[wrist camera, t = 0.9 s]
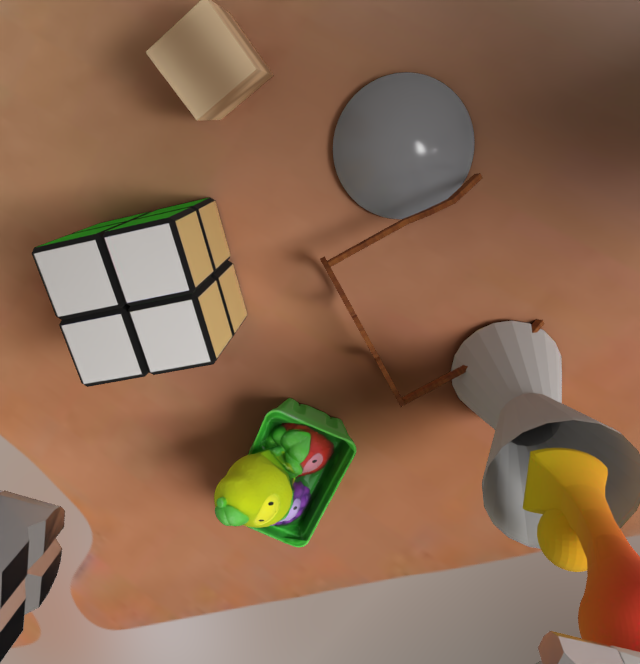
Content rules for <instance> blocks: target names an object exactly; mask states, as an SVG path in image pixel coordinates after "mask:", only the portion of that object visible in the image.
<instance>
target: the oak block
mask: <svg viewBox="0 0 640 664" xmlns="http://www.w3.org/2000/svg"><path fill="white" fill-rule="evenodd" d="M146 54H147V55H148V56H149V58H150V59H151V60H152V62H153V63H154V64H155V66H156V67H157V68H158V70H159V71H160V72H161V74H162V75H163V76H164V78H165V79H166V80H167V82H168V83H169V84H170V86H171V87H172V88H173V90H174V91H175V92H176V94H177V95H178V96H179V98H180V99H181V100H182V102H183V103H184V104H185V106H186V107H187V108H188V110H189V111H190V112H191V114H192V115H193V116H194V117H195V119H196V120H222V119H223V118H224V117H225V116H226V115H228V114H229V113H230V112H231V111H232V110H233V109H235V108H236V107H237V106H238V105H239V104H241V103H242V102H243V101H244V100H245V99H246V98H248V97H249V96H250V95H251V94H252V93H254V92H255V91H256V90H257V89H258V88H259V87H261V86H262V85H263V84H264V83H265V82H267V81H268V80H269V79H270V78H271V77H272V76H274V75H273V74H272V72H271V71H270V69H269V68H268V66H267V65H266V64H265V62H264V61H263V59H262V58H261V57H260V55H259V54H258V52H257V51H256V49H255V48H254V47H253V45H252V44H251V42H250V41H249V40H248V38H247V37H246V35H245V34H244V32H243V31H242V30H241V28H240V27H239V25H238V24H237V23H236V21H235V20H234V18H233V17H232V16H231V14H230V13H229V12H228V11H226V10H225V9H223V8H222V7H220V6H219V5H217V4H216V3H214V2H213V1H211V0H201V1H200V2H198V3H197V4H196V5H195V6H194V7H193V8H192V9H191V10H190V11H189V12H188V13H187V14H186V15H185V16H183V17H182V18H181V19H180V20H179V21H178V22H177V23H176V24H175V25H174V26H173V27H172V28H171V29H170V30H169V31H167V32H166V33H165V34H164V35H163V36H162V37H161V38H160V39H159V40H158V41H157V42H156V43H155V44H154V45H152V46H151V47H150V48H149V49H148V50H147V51H146Z"/></svg>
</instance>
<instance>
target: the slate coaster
mask: <svg viewBox="0 0 640 664" xmlns="http://www.w3.org/2000/svg"><path fill="white" fill-rule="evenodd" d="M474 141H475V140H474V130H473V126H472V122H471V119H470V116H469V114H468V111H467V109H466V108H465V106H464V104H463V103H462V101H461V100H460V98H459V97H458V96H457V95H456V94H455V93H454V92H453V91H452V90H451V89H450V88H449V87H448V86H446V85H445V84H444V83H442V82H440V81H438V80H436V79H435V78H432V77H429V76H427V75H423V74H418V73H408V72H406V73H395V74H390V75H387V76H384V77H381V78H378V79H376V80H374V81H372V82H371V83H369V84H368V85H366V86H365V87H363V88H362V89H361V90H360V91H359V92H357V93H356V94H355V95H354V96H353V98H352V99H351V100H350V101H349V102H348V104H347V105H346V107H345V108H344V110H343V112H342V114H341V116H340V118H339V120H338V123H337V126H336V129H335V134H334V139H333V159H334V165H335V169H336V172H337V175H338V177H339V179H340V182H341V184H342V185H343V187H344V189H345V190H346V192H347V193H348V194H349V195H350V197H351V198H352V199H353V200H354V201H355V202H356V203H357V204H359V205H360V206H361V207H363V208H364V209H366V210H368V211H370V212H371V213H373V214H376V215H379V216H381V217H386V218H390V219H404V218H406V217H409V216H411V215H413V214H416V213H418V212H421V211H423V210H426V209H428V208H430V207H432V206H434V205H436V204H438V203H440V202H442V201H445V200H447V199H448V198H449V197H450V196H451V195H452V194H453V193H455V192H456V191H457V190H458V189H459V188H460V187H461V186H462V184H463V182H464V181H465V179H466V177H467V175H468V172H469V170H470V167H471V164H472V160H473V154H474Z"/></svg>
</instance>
